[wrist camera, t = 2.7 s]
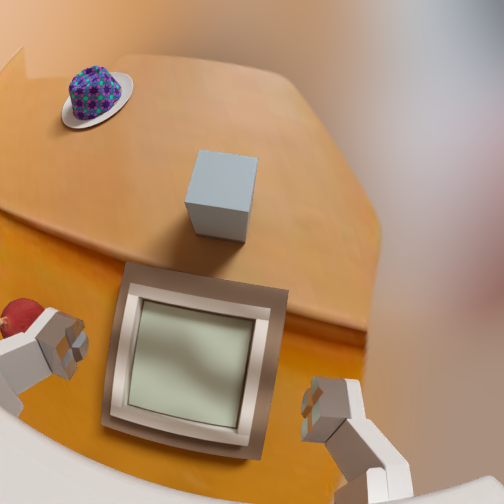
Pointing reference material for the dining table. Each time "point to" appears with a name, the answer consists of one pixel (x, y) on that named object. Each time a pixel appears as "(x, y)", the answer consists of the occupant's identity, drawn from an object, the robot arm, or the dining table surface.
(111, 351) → the tray
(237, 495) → the dining table surface
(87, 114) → the purple and white hat
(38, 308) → the onion
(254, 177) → the light blue-grey block
